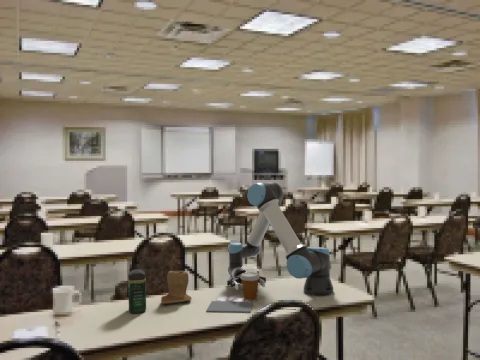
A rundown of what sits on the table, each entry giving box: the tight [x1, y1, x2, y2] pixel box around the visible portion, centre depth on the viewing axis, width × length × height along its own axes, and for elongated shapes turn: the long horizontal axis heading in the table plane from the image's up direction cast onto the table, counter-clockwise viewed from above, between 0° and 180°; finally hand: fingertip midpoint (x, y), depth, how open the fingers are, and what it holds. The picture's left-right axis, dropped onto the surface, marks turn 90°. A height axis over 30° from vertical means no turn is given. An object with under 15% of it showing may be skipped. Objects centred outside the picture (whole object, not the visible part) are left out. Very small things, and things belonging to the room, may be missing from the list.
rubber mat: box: [205, 300, 254, 314], centre depth 201 cm, size 20×14×1 cm
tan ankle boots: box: [160, 270, 192, 305], centre depth 211 cm, size 15×12×15 cm
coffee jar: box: [127, 268, 147, 314], centre depth 199 cm, size 10×8×19 cm
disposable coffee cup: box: [240, 271, 261, 301], centre depth 214 cm, size 10×10×12 cm
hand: (250, 285), depth 212 cm, fingers open, 13 cm apart
